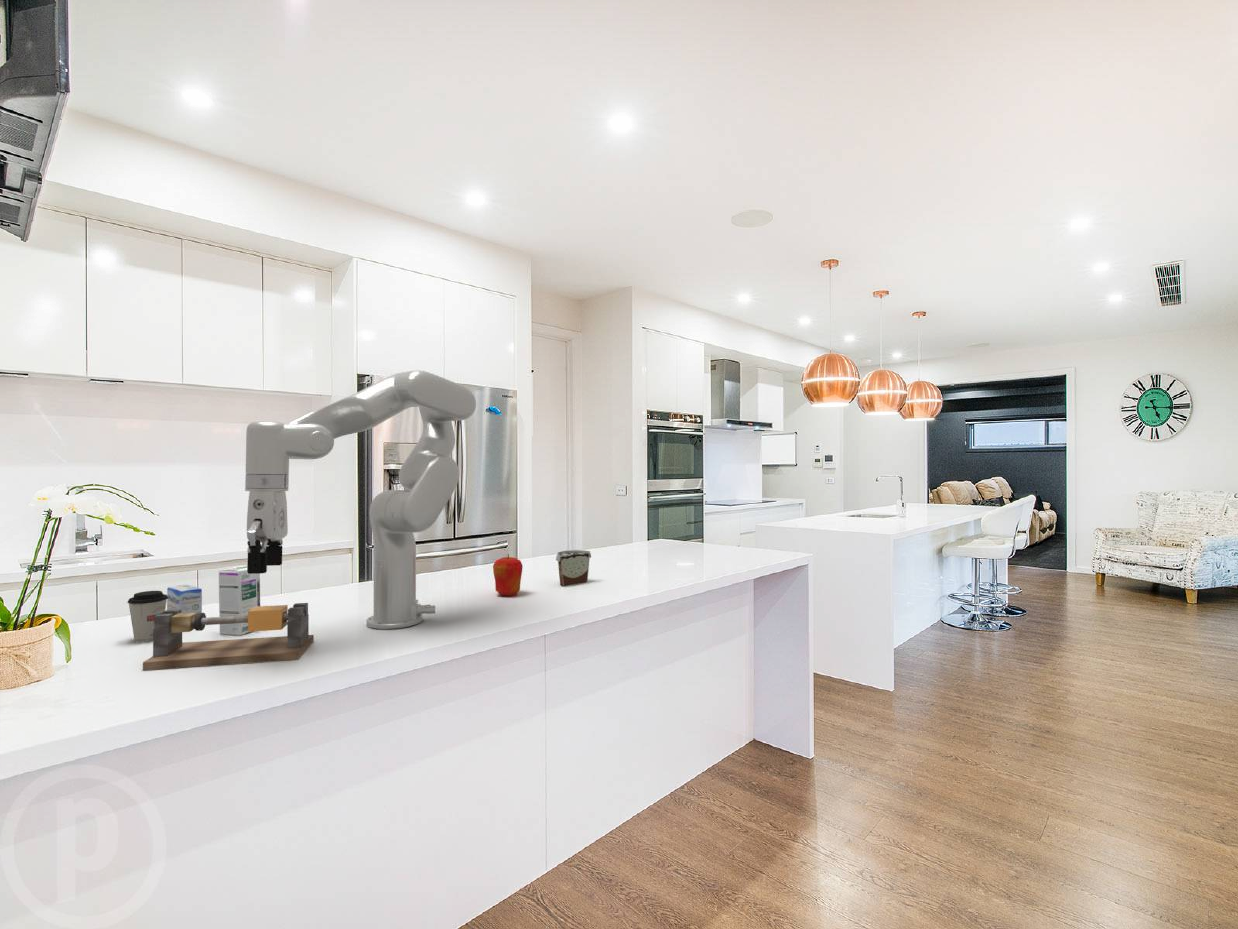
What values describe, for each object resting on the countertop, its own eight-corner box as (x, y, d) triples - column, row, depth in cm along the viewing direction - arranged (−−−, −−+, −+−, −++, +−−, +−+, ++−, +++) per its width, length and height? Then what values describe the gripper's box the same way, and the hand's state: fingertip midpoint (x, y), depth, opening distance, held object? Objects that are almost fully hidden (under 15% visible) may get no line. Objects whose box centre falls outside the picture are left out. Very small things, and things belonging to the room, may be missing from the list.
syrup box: (240, 636, 133) (240, 570, 132) (218, 634, 134) (218, 569, 134) (261, 629, 138) (261, 565, 138) (239, 627, 139) (239, 564, 139)
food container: (579, 579, 197) (579, 548, 197) (591, 582, 192) (591, 551, 192) (548, 584, 189) (548, 552, 189) (559, 587, 184) (559, 554, 184)
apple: (488, 593, 175) (488, 553, 175) (515, 590, 180) (515, 550, 180) (499, 599, 168) (500, 557, 168) (527, 595, 173) (527, 554, 173)
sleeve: (287, 624, 124) (287, 605, 124) (281, 629, 120) (281, 609, 120) (254, 626, 122) (254, 606, 122) (247, 631, 118) (247, 611, 118)
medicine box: (166, 623, 142) (166, 587, 142) (187, 619, 146) (187, 583, 146) (180, 629, 138) (180, 591, 138) (202, 624, 142) (202, 587, 142)
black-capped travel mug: (118, 643, 127) (118, 596, 127) (148, 634, 134) (148, 589, 134) (147, 645, 126) (147, 597, 126) (176, 635, 133) (176, 590, 133)
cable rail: (313, 641, 129) (313, 599, 129) (298, 659, 117) (298, 613, 117) (173, 650, 122) (173, 605, 122) (142, 670, 111) (142, 621, 111)
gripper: (274, 485, 113) (272, 576, 113) (299, 482, 130) (298, 562, 130) (229, 484, 111) (227, 577, 111) (260, 482, 128) (259, 563, 128)
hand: (265, 569), depth 121 cm, fingers open, 9 cm apart
